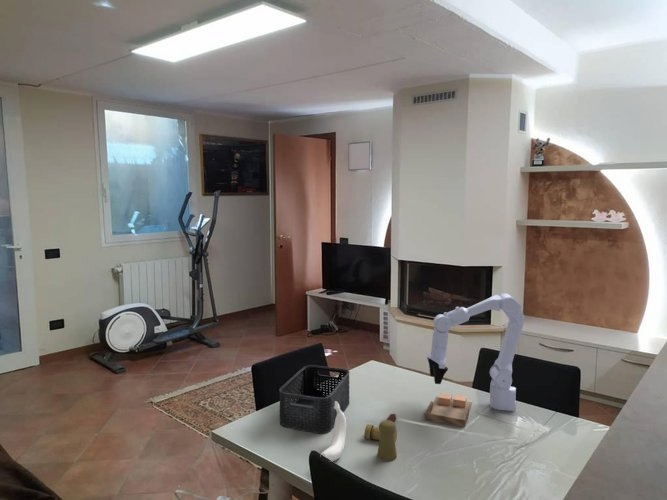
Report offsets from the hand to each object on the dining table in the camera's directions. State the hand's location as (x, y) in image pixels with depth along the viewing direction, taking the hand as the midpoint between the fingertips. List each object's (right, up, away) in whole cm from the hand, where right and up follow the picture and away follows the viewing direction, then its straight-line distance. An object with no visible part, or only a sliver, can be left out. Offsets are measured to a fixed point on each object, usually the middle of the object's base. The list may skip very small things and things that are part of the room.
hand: (435, 379), depth 180 cm
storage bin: (-46, -11, -6) cm, 48 cm away
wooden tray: (+4, -11, -6) cm, 13 cm away
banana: (-39, -14, -35) cm, 54 cm away
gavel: (-21, -13, -18) cm, 30 cm away
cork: (-23, -14, -35) cm, 44 cm away
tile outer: (+4, -9, +2) cm, 10 cm away
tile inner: (+10, -9, 0) cm, 13 cm away
